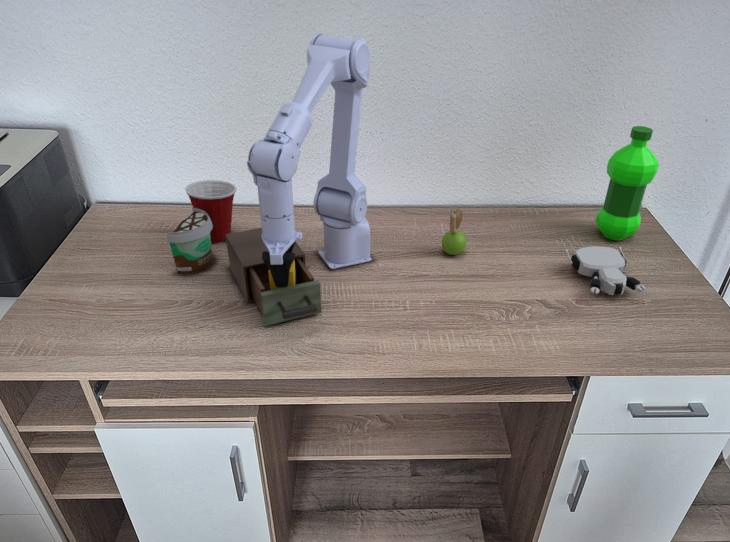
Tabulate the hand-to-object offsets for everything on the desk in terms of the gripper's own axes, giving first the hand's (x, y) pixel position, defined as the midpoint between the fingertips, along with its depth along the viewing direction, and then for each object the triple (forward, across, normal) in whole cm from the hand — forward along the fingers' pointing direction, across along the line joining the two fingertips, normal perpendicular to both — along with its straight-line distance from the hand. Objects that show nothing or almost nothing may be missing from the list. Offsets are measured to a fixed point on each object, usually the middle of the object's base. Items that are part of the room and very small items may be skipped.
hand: (282, 279), depth 114 cm
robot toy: (+7, +8, -65) cm, 66 cm away
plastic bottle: (+7, +28, -75) cm, 80 cm away
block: (+2, 0, 0) cm, 2 cm away
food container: (+7, +17, +18) cm, 26 cm away
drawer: (+6, -1, 0) cm, 6 cm away
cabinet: (+6, +11, +4) cm, 13 cm away
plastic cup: (+7, +29, +17) cm, 34 cm away
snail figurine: (+7, +20, -35) cm, 41 cm away
